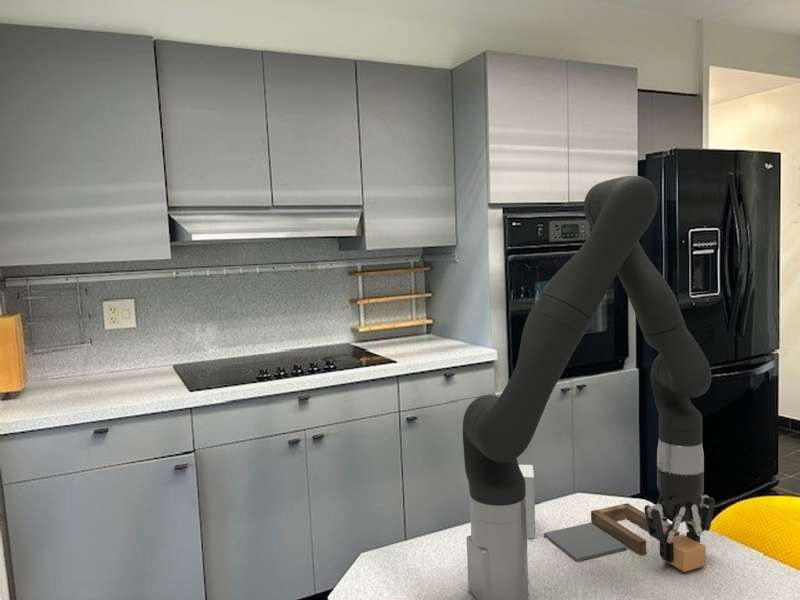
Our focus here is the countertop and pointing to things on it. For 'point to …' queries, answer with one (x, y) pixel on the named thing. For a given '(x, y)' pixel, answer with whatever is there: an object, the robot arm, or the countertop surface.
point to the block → (688, 553)
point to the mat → (584, 541)
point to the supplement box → (529, 498)
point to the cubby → (608, 524)
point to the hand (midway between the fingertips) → (679, 556)
